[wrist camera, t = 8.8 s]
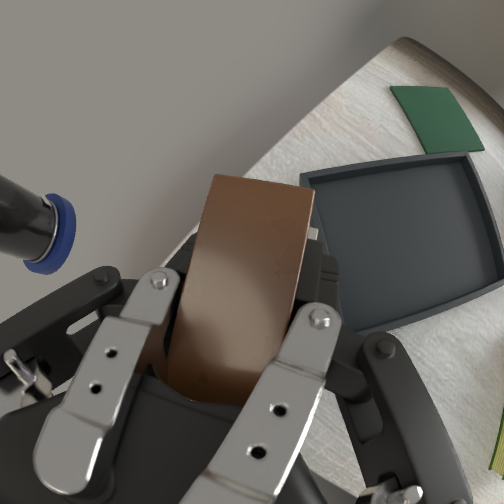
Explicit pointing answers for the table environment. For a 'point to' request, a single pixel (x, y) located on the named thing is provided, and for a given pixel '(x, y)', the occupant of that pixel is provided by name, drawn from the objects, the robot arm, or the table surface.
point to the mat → (437, 119)
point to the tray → (406, 237)
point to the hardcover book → (499, 451)
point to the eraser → (238, 287)
